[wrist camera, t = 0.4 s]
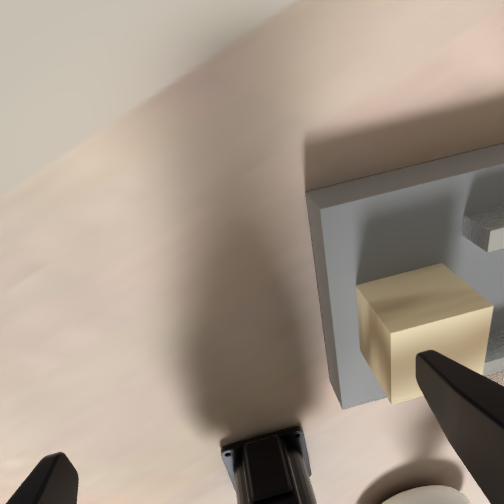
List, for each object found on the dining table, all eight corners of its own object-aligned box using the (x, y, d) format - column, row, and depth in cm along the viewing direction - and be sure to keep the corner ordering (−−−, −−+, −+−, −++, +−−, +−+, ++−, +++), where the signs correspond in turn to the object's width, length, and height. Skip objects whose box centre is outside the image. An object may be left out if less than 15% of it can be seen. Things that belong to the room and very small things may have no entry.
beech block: (437, 330, 23) (481, 379, 20) (360, 350, 23) (391, 404, 20) (441, 262, 21) (493, 305, 17) (355, 285, 21) (390, 333, 17)
